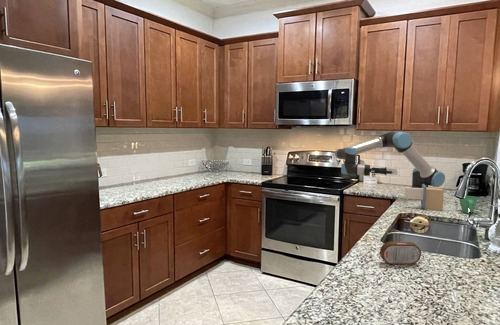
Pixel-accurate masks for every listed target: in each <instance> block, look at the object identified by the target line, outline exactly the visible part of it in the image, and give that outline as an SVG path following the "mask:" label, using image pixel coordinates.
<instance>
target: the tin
mask: <svg viewBox="0 0 500 325" xmlns="http://www.w3.org/2000/svg"><path fill="white" fill-rule="evenodd" d="M379 256H380V258H381V259H382V260H383V261H384V262H385V263H387V264H389V265H405V264H407V265H408V266H409V265H410V266H411V265H414V264H417V262H419V261H420V259H421V257H422V251H421V248H420V247H419V246H418V245H417V244H416V243H415V242H413V241H387V242H385V243H383V245H381V247H380V249H379Z"/></svg>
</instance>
